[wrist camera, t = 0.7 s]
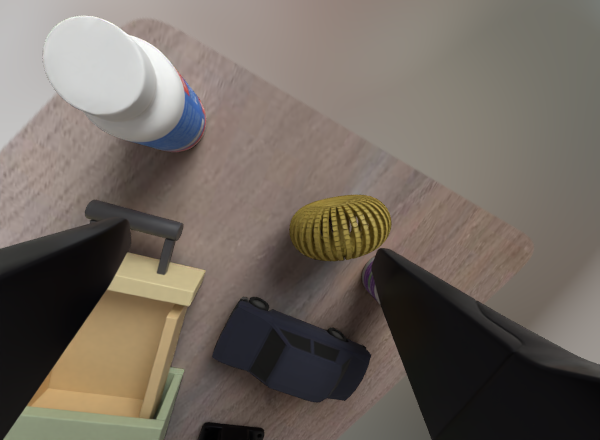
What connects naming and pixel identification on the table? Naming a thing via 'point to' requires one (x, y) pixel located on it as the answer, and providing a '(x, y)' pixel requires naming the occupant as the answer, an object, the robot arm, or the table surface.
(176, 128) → the pill bottle
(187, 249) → the table surface
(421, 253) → the table surface
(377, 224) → the sculpture
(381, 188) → the table surface
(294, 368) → the toy car
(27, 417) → the cabinet
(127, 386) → the drawer
